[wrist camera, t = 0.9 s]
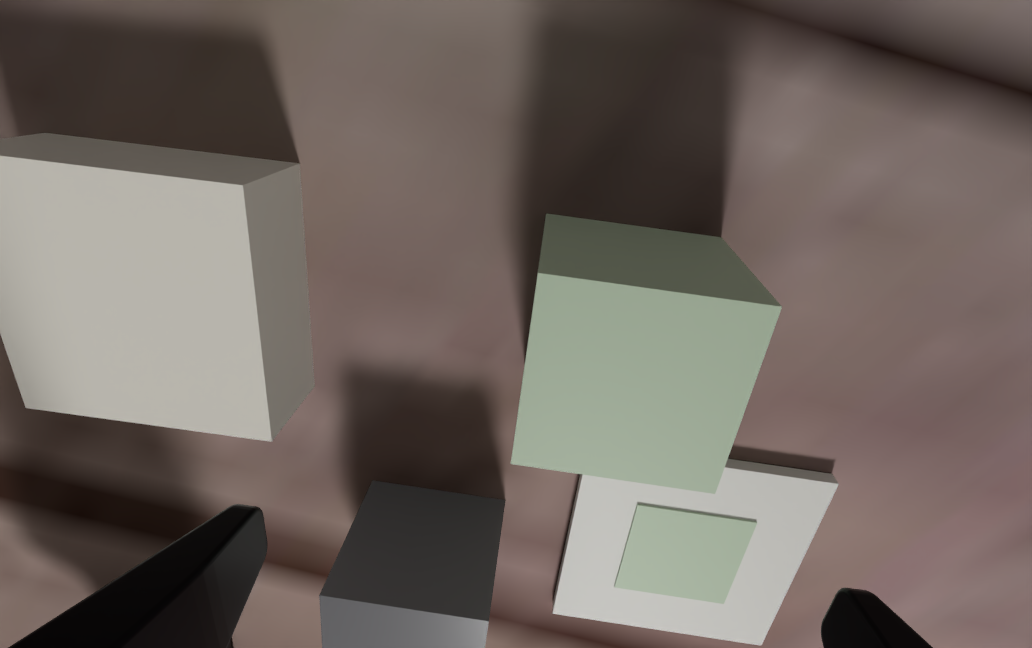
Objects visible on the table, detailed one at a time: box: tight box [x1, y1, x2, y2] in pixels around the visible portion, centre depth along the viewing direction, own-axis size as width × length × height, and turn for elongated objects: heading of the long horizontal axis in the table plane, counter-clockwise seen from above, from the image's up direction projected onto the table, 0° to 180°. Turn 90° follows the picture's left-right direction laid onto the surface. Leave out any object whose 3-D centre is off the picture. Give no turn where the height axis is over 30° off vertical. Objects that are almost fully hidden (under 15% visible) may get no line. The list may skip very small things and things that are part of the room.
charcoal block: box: [319, 480, 505, 648], centre depth 23 cm, size 6×6×6 cm
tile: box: [553, 459, 839, 645], centre depth 25 cm, size 10×10×1 cm
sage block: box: [511, 213, 782, 494], centre depth 18 cm, size 6×6×6 cm
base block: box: [0, 133, 315, 442], centre depth 20 cm, size 9×9×4 cm
